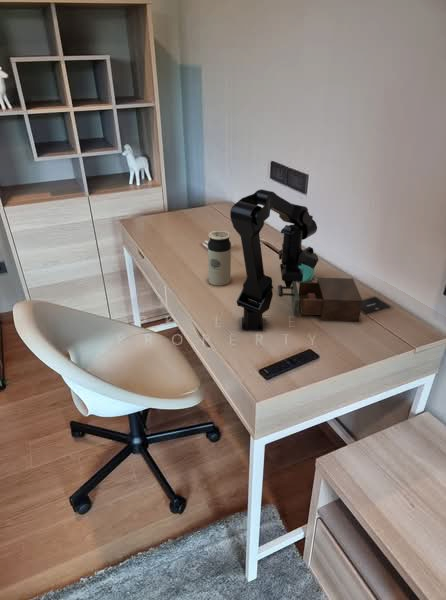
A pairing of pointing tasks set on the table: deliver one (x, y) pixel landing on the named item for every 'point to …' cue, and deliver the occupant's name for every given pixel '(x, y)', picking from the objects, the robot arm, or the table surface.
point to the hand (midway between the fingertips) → (288, 287)
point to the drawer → (304, 297)
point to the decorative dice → (306, 272)
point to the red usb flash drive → (311, 296)
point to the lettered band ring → (207, 243)
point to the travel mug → (219, 258)
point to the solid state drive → (373, 305)
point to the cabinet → (340, 299)
